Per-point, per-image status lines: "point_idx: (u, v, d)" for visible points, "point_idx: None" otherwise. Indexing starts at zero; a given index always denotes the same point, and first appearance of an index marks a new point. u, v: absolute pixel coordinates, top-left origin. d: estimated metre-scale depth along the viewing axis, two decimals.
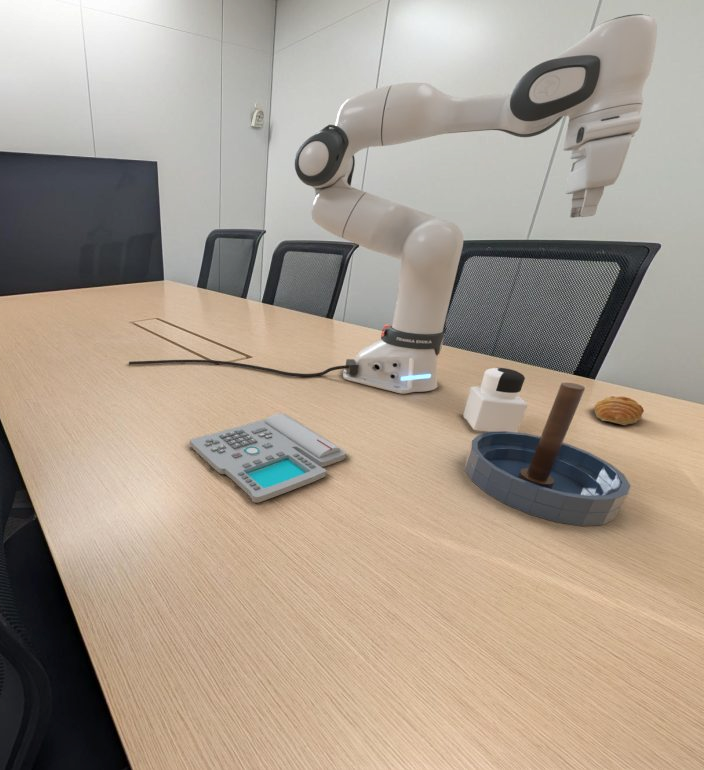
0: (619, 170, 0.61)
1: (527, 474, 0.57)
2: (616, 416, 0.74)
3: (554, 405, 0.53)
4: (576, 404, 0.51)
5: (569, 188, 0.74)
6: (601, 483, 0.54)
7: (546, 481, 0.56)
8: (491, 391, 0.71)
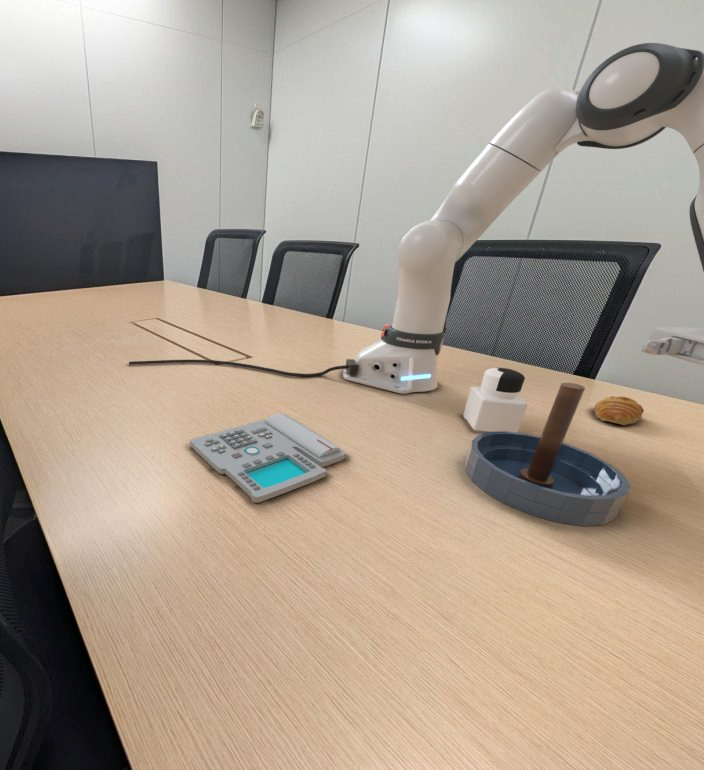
0: None
1: (527, 474, 0.57)
2: (616, 416, 0.74)
3: (554, 405, 0.53)
4: (576, 404, 0.51)
5: (696, 334, 0.52)
6: (601, 483, 0.54)
7: (546, 481, 0.56)
8: (491, 391, 0.71)
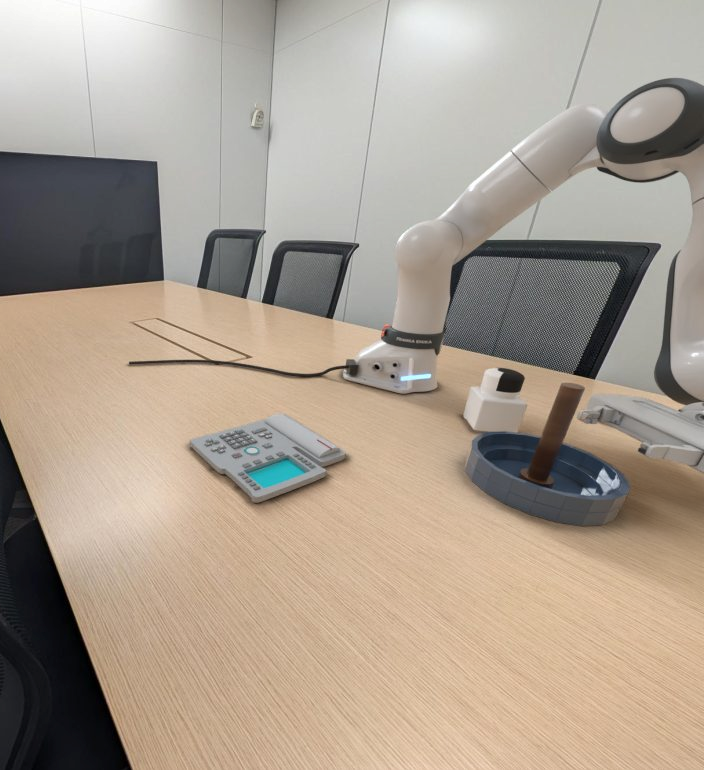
0: None
1: (527, 474, 0.57)
2: None
3: (554, 405, 0.53)
4: (576, 404, 0.51)
5: (624, 406, 0.57)
6: (601, 483, 0.54)
7: (546, 481, 0.56)
8: (491, 391, 0.71)
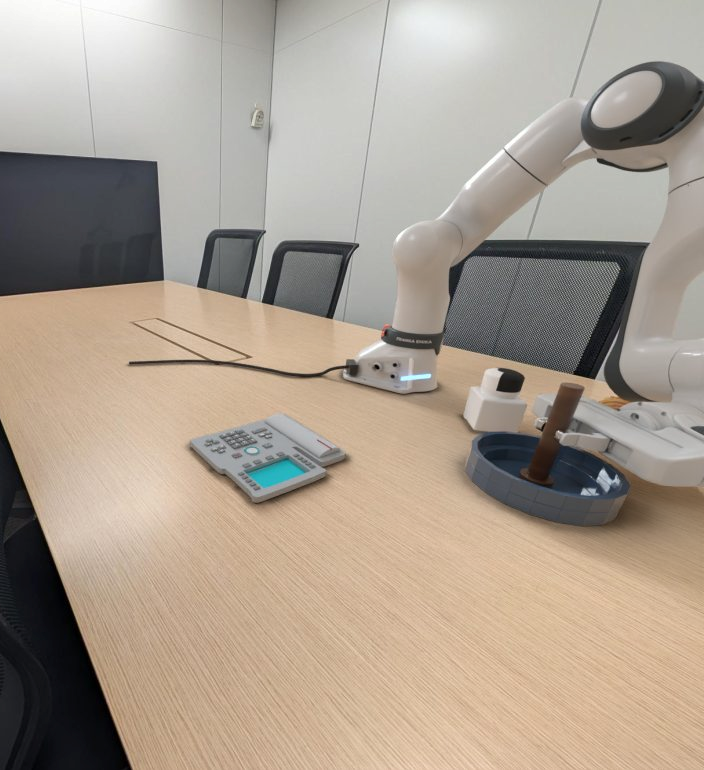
0: (667, 485, 0.45)
1: (527, 474, 0.57)
2: None
3: (554, 405, 0.53)
4: (576, 404, 0.51)
5: None
6: (601, 483, 0.54)
7: (546, 481, 0.56)
8: (491, 391, 0.71)
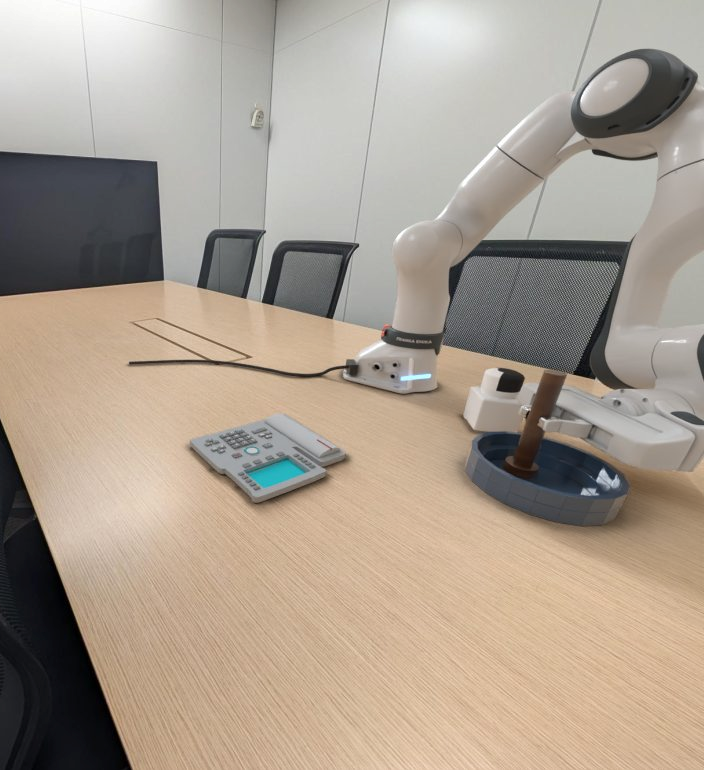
0: (647, 469, 0.46)
1: (512, 461, 0.58)
2: None
3: (537, 392, 0.54)
4: (558, 391, 0.52)
5: None
6: (601, 483, 0.54)
7: (530, 468, 0.56)
8: (491, 391, 0.71)
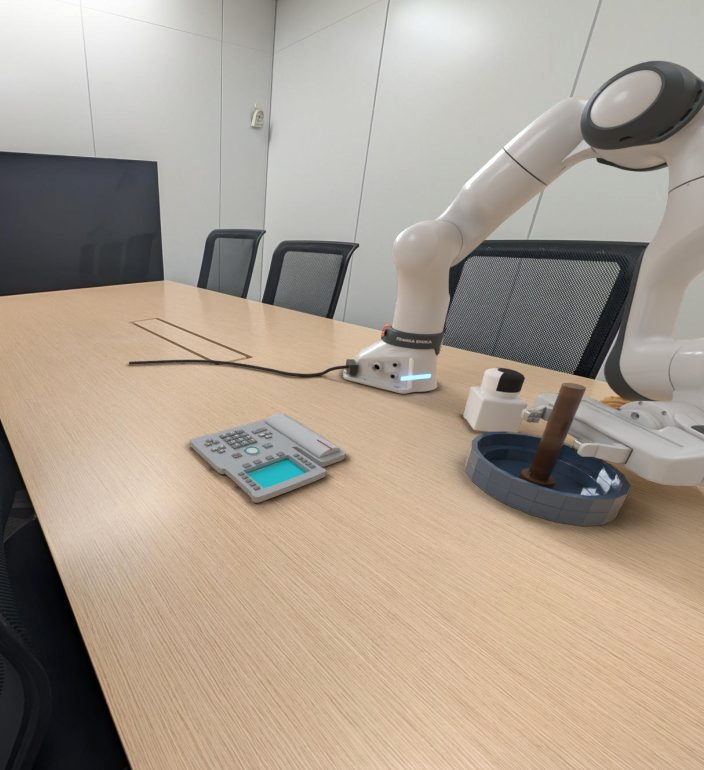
0: (668, 484, 0.45)
1: (528, 474, 0.57)
2: None
3: (555, 405, 0.53)
4: (577, 404, 0.51)
5: None
6: (601, 483, 0.54)
7: (547, 481, 0.56)
8: (491, 391, 0.71)
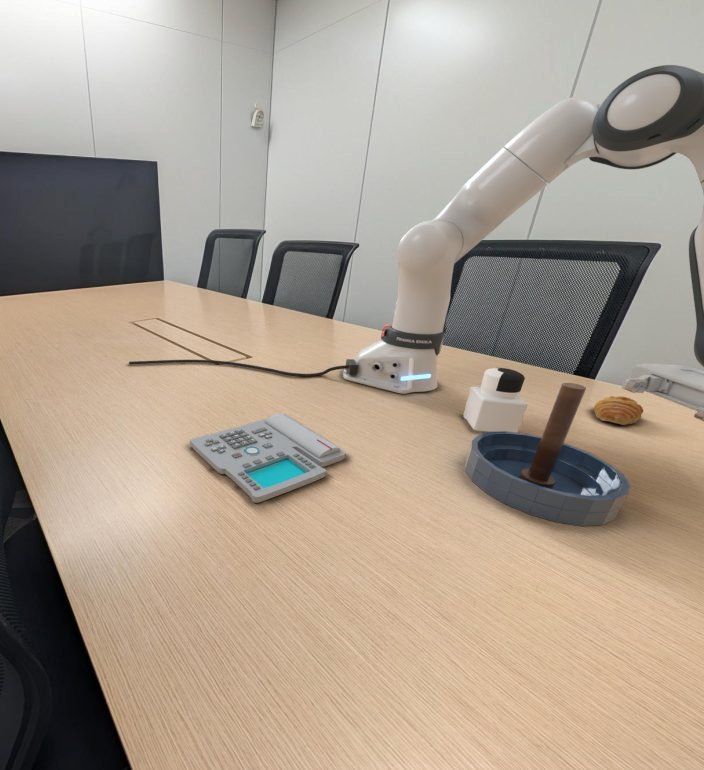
0: None
1: (528, 474, 0.57)
2: (616, 415, 0.74)
3: (555, 405, 0.53)
4: (577, 404, 0.51)
5: (673, 374, 0.54)
6: (601, 483, 0.54)
7: (547, 481, 0.56)
8: (491, 391, 0.71)
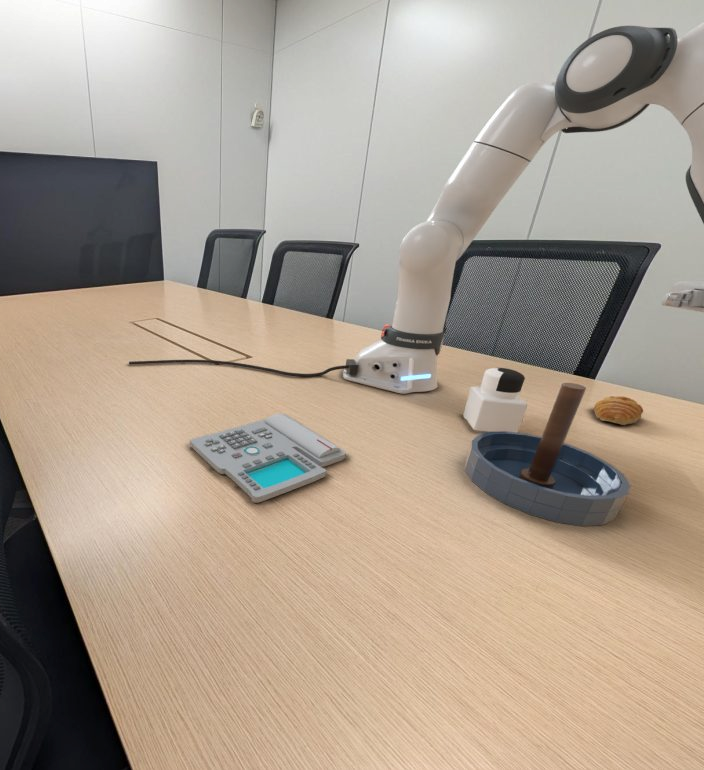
0: None
1: (528, 474, 0.57)
2: (616, 415, 0.74)
3: (555, 405, 0.53)
4: (577, 404, 0.51)
5: None
6: (601, 483, 0.54)
7: (547, 481, 0.56)
8: (491, 391, 0.71)
